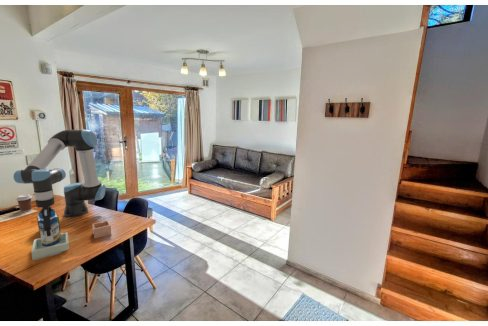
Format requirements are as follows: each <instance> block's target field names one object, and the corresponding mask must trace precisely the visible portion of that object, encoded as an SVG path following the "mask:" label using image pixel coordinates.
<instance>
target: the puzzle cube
mask: <svg viewBox="0 0 488 326" xmlns="http://www.w3.org/2000/svg"><path fill="white" fill-rule="evenodd" d="M55 217H56V218H57V219H58V224H59V232H61V225H60V218H59V215H58V213H57V212H55ZM36 220H37V227H38V229H39V227H40V226H39V221H40V220H41V219H40V218H39V215H37V216H36ZM38 233H39V236H40V237H41V235H40V231H39V230H38Z"/></svg>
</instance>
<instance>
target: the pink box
mask: <svg viewBox="0 0 488 326" xmlns="http://www.w3.org/2000/svg"><path fill="white" fill-rule="evenodd" d="M91 226H92V228H91V229H92V234H93V238H94V239H99V238H103V237H105V236H109V235H110V236H111V235H112V227H111V226H112V225H111V223H110V220H109V219H108V220H103V221H100V222H93V223H92V224H91Z"/></svg>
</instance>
